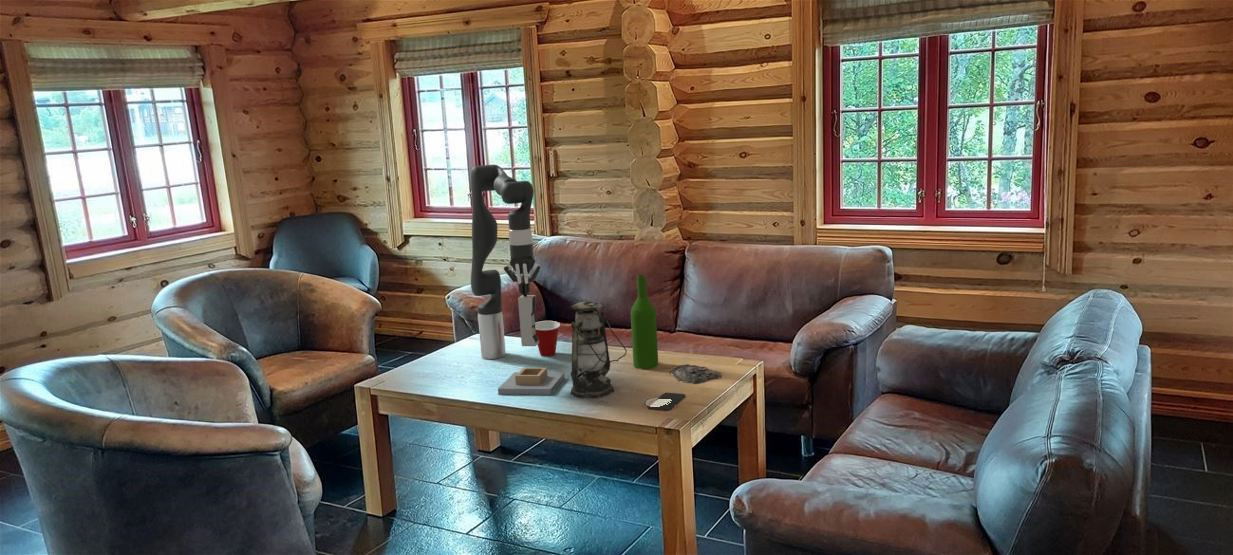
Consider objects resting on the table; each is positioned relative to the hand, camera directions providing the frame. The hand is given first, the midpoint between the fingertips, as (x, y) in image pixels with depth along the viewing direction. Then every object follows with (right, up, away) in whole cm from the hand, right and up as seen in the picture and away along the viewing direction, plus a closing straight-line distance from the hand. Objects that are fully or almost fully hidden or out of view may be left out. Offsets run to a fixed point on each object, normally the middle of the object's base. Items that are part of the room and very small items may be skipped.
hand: (524, 294), depth 294 cm
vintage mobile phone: (+2, -17, +3) cm, 18 cm away
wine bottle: (+41, -26, +22) cm, 53 cm away
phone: (+46, -34, -18) cm, 60 cm away
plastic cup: (+4, -24, +44) cm, 50 cm away
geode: (+56, -29, +7) cm, 63 cm away
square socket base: (+2, -31, +6) cm, 32 cm away
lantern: (+24, -32, -5) cm, 40 cm away
